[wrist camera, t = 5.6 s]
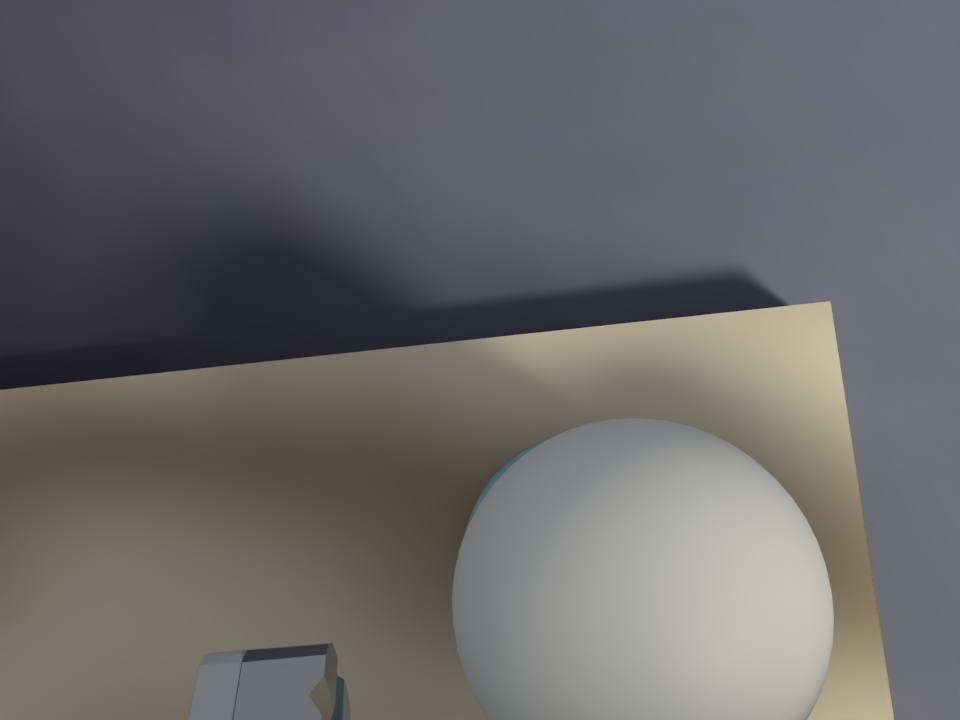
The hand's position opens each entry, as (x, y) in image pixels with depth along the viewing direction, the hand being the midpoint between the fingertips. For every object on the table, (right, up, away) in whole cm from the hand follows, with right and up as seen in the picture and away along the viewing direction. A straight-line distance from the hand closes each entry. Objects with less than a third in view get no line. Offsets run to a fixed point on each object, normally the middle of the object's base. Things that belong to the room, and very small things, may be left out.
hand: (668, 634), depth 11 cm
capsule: (0, 0, +5) cm, 5 cm away
